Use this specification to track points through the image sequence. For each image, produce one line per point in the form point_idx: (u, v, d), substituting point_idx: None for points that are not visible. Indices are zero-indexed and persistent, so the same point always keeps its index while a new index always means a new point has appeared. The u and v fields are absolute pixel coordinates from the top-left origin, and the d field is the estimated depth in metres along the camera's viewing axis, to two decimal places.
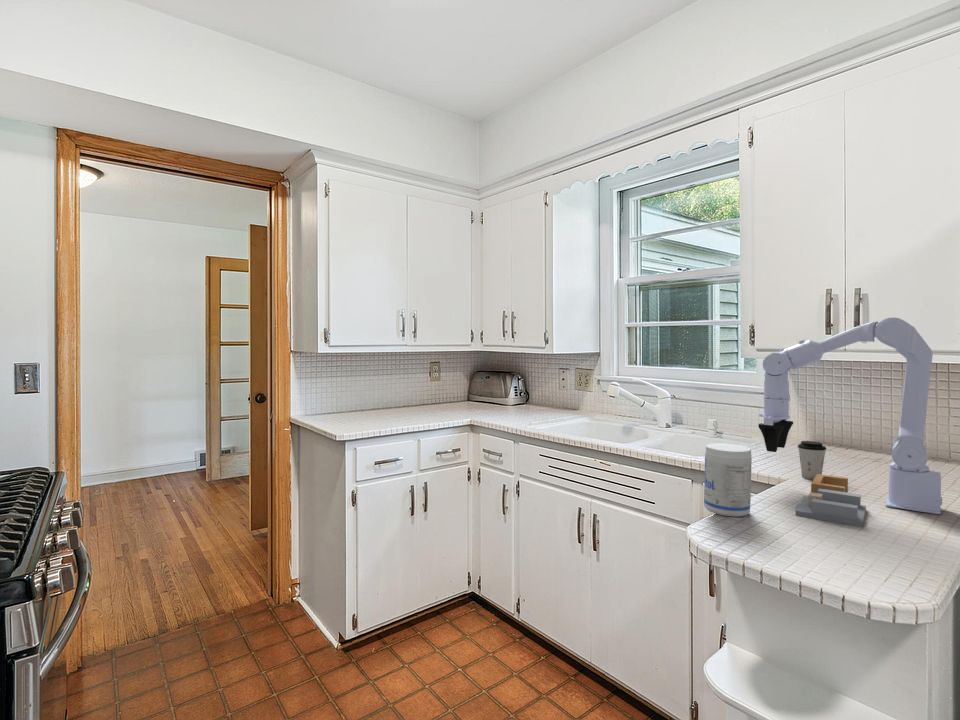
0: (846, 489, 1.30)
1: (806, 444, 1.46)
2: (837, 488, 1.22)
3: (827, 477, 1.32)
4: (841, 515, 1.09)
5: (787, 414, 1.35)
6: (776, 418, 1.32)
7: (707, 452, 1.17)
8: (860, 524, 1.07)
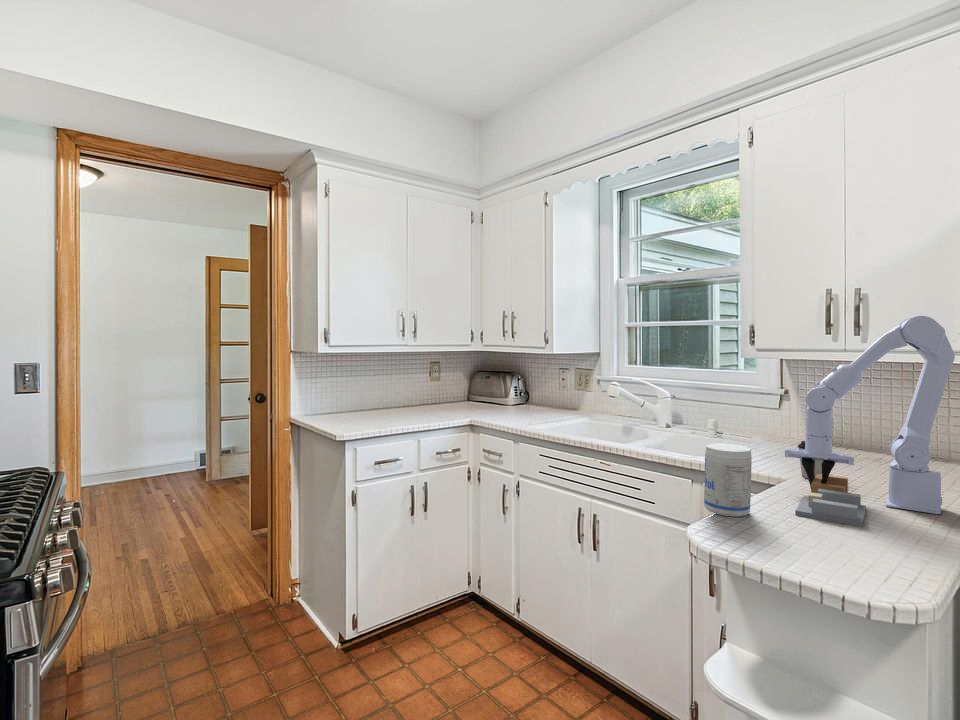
0: (846, 488, 1.30)
1: None
2: (837, 488, 1.22)
3: None
4: (841, 515, 1.09)
5: (814, 452, 1.28)
6: (793, 452, 1.32)
7: (707, 452, 1.17)
8: (860, 524, 1.07)
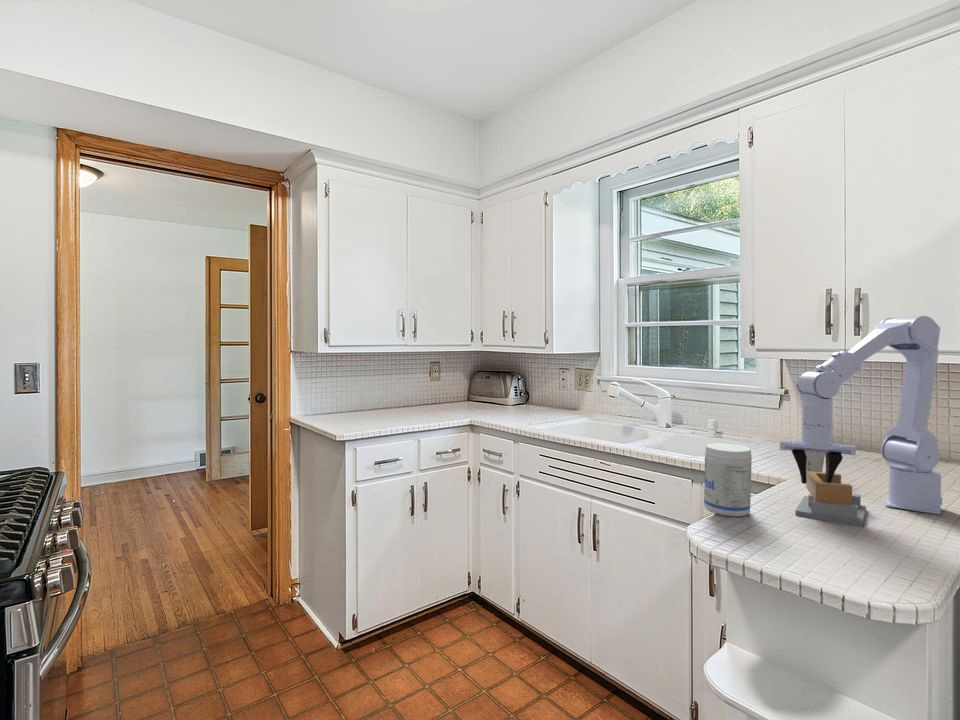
0: None
1: None
2: (844, 487, 1.11)
3: (819, 474, 1.21)
4: (841, 515, 1.09)
5: (816, 443, 1.15)
6: (791, 444, 1.18)
7: (707, 452, 1.17)
8: (860, 524, 1.07)
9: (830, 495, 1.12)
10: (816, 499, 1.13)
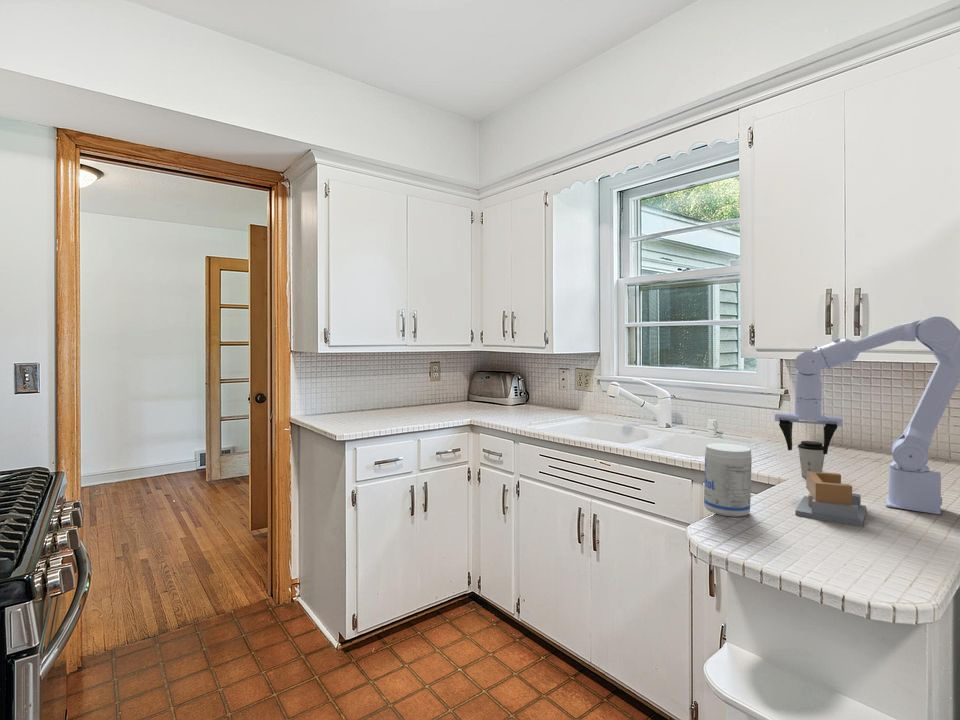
0: None
1: (806, 444, 1.46)
2: (844, 487, 1.11)
3: (819, 474, 1.21)
4: (841, 515, 1.09)
5: (804, 415, 1.30)
6: (783, 415, 1.34)
7: (707, 452, 1.17)
8: (860, 524, 1.07)
9: (830, 495, 1.12)
10: (816, 499, 1.13)
